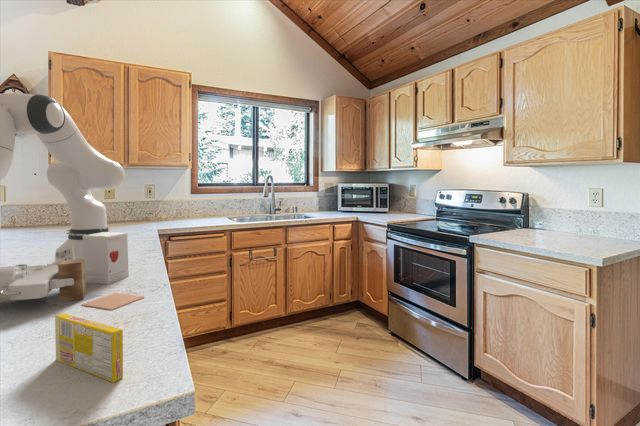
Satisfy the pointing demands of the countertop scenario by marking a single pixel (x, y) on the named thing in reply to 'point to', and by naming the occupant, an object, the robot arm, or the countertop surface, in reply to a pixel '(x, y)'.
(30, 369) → the countertop surface
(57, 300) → the grey square tile
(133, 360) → the countertop surface
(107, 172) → the robot arm
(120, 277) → the supplement box
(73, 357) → the candy box
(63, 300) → the walnut block
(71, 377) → the countertop surface
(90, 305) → the pad
